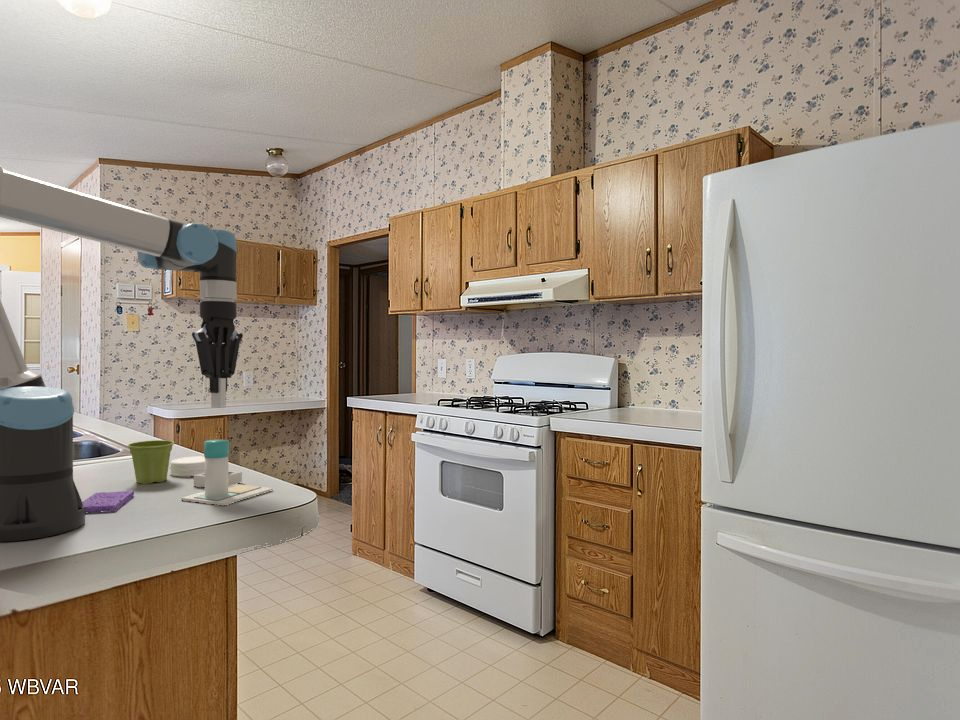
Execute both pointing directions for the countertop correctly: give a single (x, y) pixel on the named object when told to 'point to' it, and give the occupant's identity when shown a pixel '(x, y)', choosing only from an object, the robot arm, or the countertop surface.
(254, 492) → the picture card
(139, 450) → the plant pot
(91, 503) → the sponges
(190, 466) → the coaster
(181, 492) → the countertop surface
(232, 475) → the button housing
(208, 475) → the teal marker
